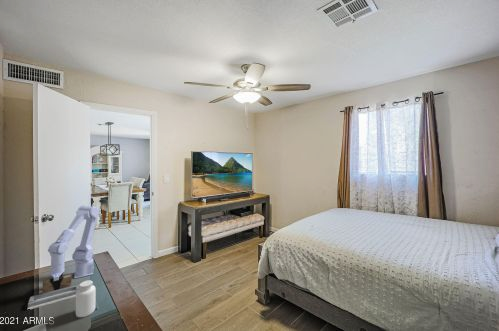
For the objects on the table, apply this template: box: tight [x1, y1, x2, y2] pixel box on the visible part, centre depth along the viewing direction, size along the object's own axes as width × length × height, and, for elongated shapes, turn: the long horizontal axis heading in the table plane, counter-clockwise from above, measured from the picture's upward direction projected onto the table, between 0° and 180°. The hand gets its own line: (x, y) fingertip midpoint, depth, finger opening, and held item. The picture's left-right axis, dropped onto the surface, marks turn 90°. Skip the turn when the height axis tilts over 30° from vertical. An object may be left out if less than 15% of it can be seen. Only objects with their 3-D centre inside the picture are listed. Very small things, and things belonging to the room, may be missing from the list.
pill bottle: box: [75, 279, 97, 318], centre depth 106 cm, size 8×8×15 cm
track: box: [27, 283, 81, 310], centre depth 114 cm, size 20×8×3 cm, turn 128°
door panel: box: [42, 273, 73, 294], centre depth 120 cm, size 12×2×7 cm, turn 128°
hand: (57, 286), depth 120 cm, fingers open, 7 cm apart
